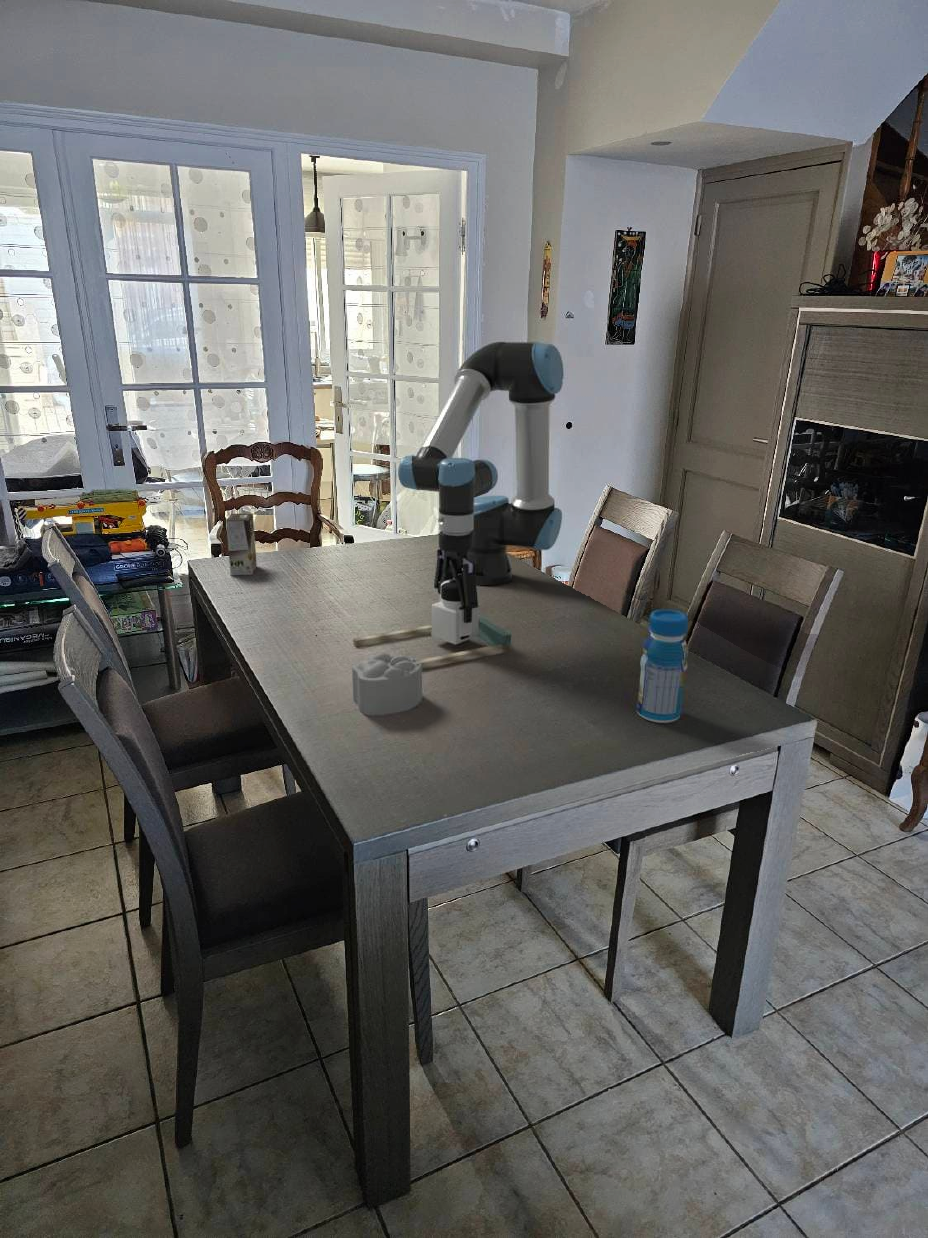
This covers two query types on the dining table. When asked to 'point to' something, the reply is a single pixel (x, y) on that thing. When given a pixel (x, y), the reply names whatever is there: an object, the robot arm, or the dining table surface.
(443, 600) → the container
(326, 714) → the dining table surface
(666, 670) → the beverage bottle
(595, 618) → the dining table surface
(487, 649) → the beige u-shaped frame
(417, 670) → the lumpy-topped squat cylinder
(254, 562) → the coffee box
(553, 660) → the dining table surface
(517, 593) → the dining table surface
